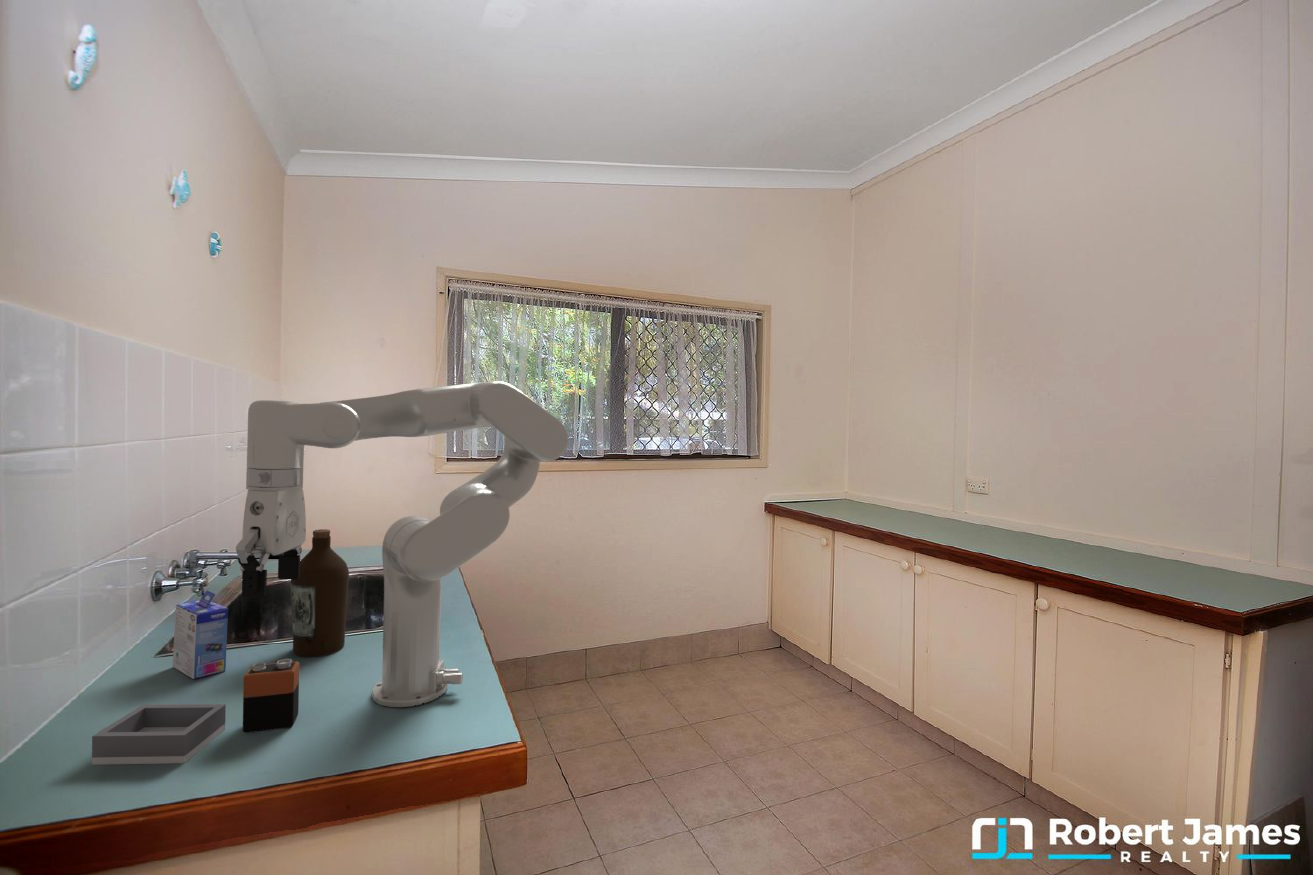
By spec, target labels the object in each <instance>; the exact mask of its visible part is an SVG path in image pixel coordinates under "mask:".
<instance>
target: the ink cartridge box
mask: <svg viewBox="0 0 1313 875" xmlns="http://www.w3.org/2000/svg"><path fill="white" fill-rule="evenodd" d="M215 595H216V593H215V592H211V591H210V590H205V592H204V594H203V595H202V596H201V598H200V599H199V600H194V601H188V602H182V603H179V604H176V605H175V614H174V616H175V617H174V618H175V619H174V635H173V637H174V638H173V652H172V653H173V654H172V667H173V668H175V669H176V670H178V671H179V672H181V673H183V674H184V675H186V676H188V677H189V678H191V679H193V680H196V679H200V678H203V677H207V676H212V675H215V674H218V673H223V672H226V671H227V669H226V668H227V667H226V666H227V646H228V645H227V642H228V641H227V638H228V619H229V618H228V617H229V607H227V606H223V605H222V604H218V603H216V602H213V599H214V598H215ZM207 596H209V599H207V598H206V597H207Z"/></svg>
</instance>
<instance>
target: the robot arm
mask: <svg viewBox="0 0 1313 875" xmlns="http://www.w3.org/2000/svg"><path fill="white" fill-rule="evenodd" d="M247 411H248V412H247V446H246V447H247V448H246V474H245V475H246V476H245V477H246V480H245V481H246V482H245V489H246V490H247V493H246V498H245V504H244V510H243V511H244V512H243V520H242V521H243V522H242V539H241V540H240V541H239V542H238V543H237V544H236V546H235V552H236V554H237V562H238V564H239V565H240V566H239V567H240V572H241V574H242V575H241V577H242V578H241V596H242V597H244V598H246V597H247V598H263V597H265V596H266V595H267V584H268V583H267V582H268V580H267V578H268V569H265V567H266V564H267V562H268V559H269V558H270V555H272V556H278V557H277V558H278V559H277V562H278V564H277V565H278V566H277V579H279V580H291V579H293V580H296V579H298V578H299V577H300V561H301V554H302V552H303V549H302V545H303V544H304V543H305V542H306V540H307V539H306V538H307V537H306V536H307V532H306V531H307V530H306V529H307V527H306V526H307V524H306V522H307V521H306V502H305V501H306V500H305V494H304V489H303V488H304V461H305V460H304V458H305V446H308V447H309V446H311V447H317V448H324V449H342V448H344V447H347V446H349V445H351V444H352V443H353V442H356V441H361V440H363V441H364V440H368V439H369V440H370V439H378V438H379V439H380V438H387V437H388V438H390V437H392V438H393V437H395V438H396V437H398V438H399V437H401V438H403V437H404V438H420V437H430V436H436V435H442V434H446V433H447V434H448V433H453V432H460V431H466V430H474V429H480V428H489V427H490V428H494V429H495V430H497V431H498V432H499V433H501V434H502V435H503V436H504V446H503V447H504V448H503V451H502V454H501V456H500V458H499V459H498V460H497V461H496V462H495V463H494V464H493V465H492V466H490V467H488V468H487V469H486V470H485V471H483V472H481V473H480V474H479V475H477V476H475V477H473V478H472V479H470V480H468V481H467V482H465V483H464V484H462V485H459V486H458V487H457V488H454V489H453V490H452V491H450V492H449V493H448V494H446V496H445V497H444V498H443V499H442V501H441V503H440V506H439V516H436V518H433V519H432V520H430V519H428V518H425V517H422V516H419V515H418V516H417V515H411V516H405V517H402V518H400V519H398V520H396V521H395V522H393V524H391V525H390V527H389V528H388V529H387V530H386V532H385V534H384V537H383V540H382V547H381V555H382V556H381V557H382V568H383V570H382V571H383V585H384V586H383V592H384V593H383V623H382V624H383V630H382V632H383V633H382V670H381V671H382V673H381V674H382V675H381V676H382V677H381V680H380V681H378V682H377V683H376V684H375V685H374V686H373V687H372V689H371V698H372V700H373V701H374V702H375V703H376V704H378V705H381V706H383V707H384V706H385V707H389V708H409V707H410V708H411V707H416V706H420V705H423V704H422V703H424V704H427V703H430V702H431V701H434V700H437V699H438V698H440V697H441V696H443V694H445V692H446V691H447V690H446V689H448V685H462V684H463V680H464V673H462V672H460V669H459V668H447V667H444V666H445V660H444V659H441V660H440V653H441V652H440V650H441V649H440V648H441V644H440V643H441V615H442V614H441V612H442V607H441V606H442V578H445V577H446V576H448V575H450V574H451V573H452V572H454V571H455V570H457V569H458V568H460V567H461V566H463V565H465V564H466V563H467V562H469V561H470V560H471V559H473V558H474V557H476V556H477V555H479V554H480V553H481V552H483V551H484V550H486V549H487V548H488V547H490V546H491V545H492V544H494V543H495V542H496V541H497V540H498V539H499V538H500V537H502V535H504V534H503V533H504V532H505V531H506V529H507V527H508V525H509V522H510V507H512V506H513V505H514V504H516V503H517V502H519V501H520V500H521V499H522V498H523V497H525V496H526V495H527V494H528V493H529V491H531V489H532V488H533V486H534V485H535V482H536V480H537V477H538V474H539V469H540V465H541V462H552V461H555V460H557V459H559V458H561V456H563V455H564V453H565V452H566V450H567V448H568V445H569V439H570V438H569V433H568V430H567V429H566V426H565V425H564V424H563V422H562V421H561V420H560V419H558V418H557V417H556V416H555V415H554V414H552V413H551V412H549V411H548V410H546V409H545V408H544V407H543V406H541V405H540V404H538V403H537V402H536V401H534V400H533V399H532V398H530V397H529V396H528V395H527V394H525V393H524V392H522V391H521V390H520V389H518V388H516V387H515V386H514V385H512V384H510V383H508V382H506V381H500V380H494V381H493V380H491V381H481V382H472V383H471V382H470V383H461V384H455V385H446V386H445V385H444V386H436V387H425V388H424V387H423V388H416V389H409V390H403V391H399V392H395V393H389V394H385V395H378V396H377V395H376V396H370V397H363V398H362V397H360V398H353V399H344V400H335V401H334V400H333V401H322V402H319V403H318V402H315V403H298V402H295V401H288V400H286V401H285V400H268V399H267V400H265V399H263V400H260V399H259V400H255V401H253V402H251V404H249V407H248V410H247ZM257 557H259V559H257ZM439 696H440V697H439ZM415 705H416V706H415Z"/></svg>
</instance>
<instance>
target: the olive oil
mask: <svg viewBox="0 0 1313 875" xmlns="http://www.w3.org/2000/svg"><path fill="white" fill-rule="evenodd" d="M330 534H331V530H330V529H326V528H325V529H315V530H313V531H312V535H313V536H312V538H311V543H312V544H311V549H310V551H309V552H307V554H306V555H305V556H304V557H302V559H300V577H299V578H298V579H296V580H293V579H290V593H291V594H290V595H291V596H290V597H291V615H292V616H291V618H292V620H291V621H292V652H293V654H294V655H295V656H298V657H304V658H316V657H322V656H326V655H327V656H328V655H331V654H334V653H337V652H339V651H340V650H341V649H343V648H344V647H345V639H346V625H347V624H346V620H347V610H348V609H347V608H348V596H349V595H348V594H349V585H350V584H349V583H350V582H349V581H350V571H349V567H348V565H347V564H348V563H347V562H346V561H345V560H344V559H343V558H342V557H341V556H340V555H339V554H337V553H336V551H334V550H333V549H332V548H331V541H332V540H331V535H330Z"/></svg>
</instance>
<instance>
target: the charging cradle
mask: <svg viewBox="0 0 1313 875" xmlns="http://www.w3.org/2000/svg"><path fill="white" fill-rule="evenodd" d="M226 709H227V708H226V704H225V703H222V704H217V703H215V704H214V703H213V704H211V703H210V704H209V703H208V704H205V703H204V704H203V703H202V704H199V703H198V704H197V703H196V704H195V703H194V704H142V705H140V706H138V707H137V708H135V709H134V710H132V711H130V712H129V713H127V714H125V715H124V716H123V717H120V718H119V719H117V720H116V721H115V722H112V723H111V724H109V725H108V726H106V727H104V728H103V729H102V730H100V731H98V732H97V733H95V734H94V735H92V736H91V738H92V739H91V765H94V766H95V765H99V766H100V765H149V764H150V765H151V764H155V765H157V764H158V765H159V764H186V763H187V762H188V761H189V760H190V759H191V758H193V757H194V756H195V755H197V754H198V753H199V752H200V751H201V750H202V749H204V747H206V746H207V745H208V744H210V743H211V742H212V741H213V740H214V739H216V738H217V737H219V735H221V734H222V733H223V732H224V731H225V730H226V716H227V715H226V712H227V710H226Z"/></svg>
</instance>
